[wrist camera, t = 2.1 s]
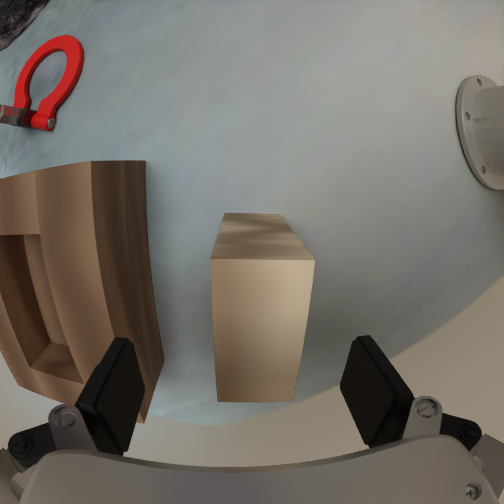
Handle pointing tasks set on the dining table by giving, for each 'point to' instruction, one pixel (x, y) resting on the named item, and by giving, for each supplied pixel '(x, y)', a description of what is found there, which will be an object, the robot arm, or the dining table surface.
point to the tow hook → (48, 105)
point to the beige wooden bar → (259, 307)
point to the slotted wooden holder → (76, 276)
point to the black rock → (17, 17)
